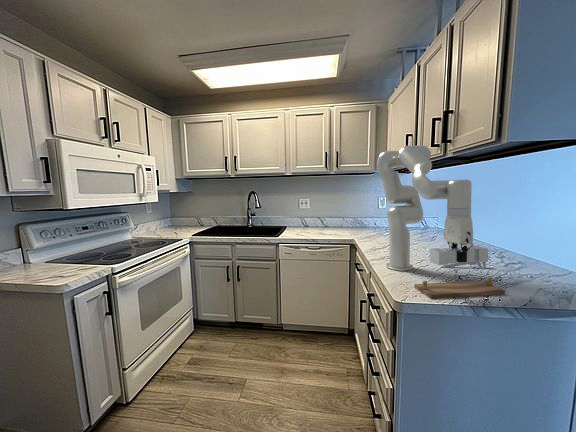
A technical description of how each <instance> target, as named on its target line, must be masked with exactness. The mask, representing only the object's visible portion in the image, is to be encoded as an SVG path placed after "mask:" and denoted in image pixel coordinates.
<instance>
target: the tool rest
mask: <svg viewBox="0 0 576 432" xmlns="http://www.w3.org/2000/svg"><path fill="white" fill-rule="evenodd" d="M413 286H414V289H416V290H417V291H419V292H420V293H421V294H423V295H425V296H426V297H428V298H429V299H434V300H435V299H448V298H450V299H451V298H465V297H478V296H479V297H481V296H496V295H505V294H506V293H505V290H504V289H502V288H500V287H497V286H496V285H493V277H492V276H487V278H486V281H483V280H465V281H464V280H461V281H446V282H445V281H444V282H431V283H430V282H429V283H428V281H427V280H422V282H421V283H414V285H413Z"/></svg>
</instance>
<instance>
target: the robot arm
mask: <svg viewBox="0 0 576 432" xmlns="http://www.w3.org/2000/svg"><path fill="white" fill-rule="evenodd" d="M431 157H432V152H431V149H430V148H429V147H427V146H425V145H412V144H411V145H406V146H403V147H401V149H399V150H386V151H383V152H381V153H380V154H379V156H378V157H377V161H376V169H377V172H378V174H379V177H380V179H381V182H382V186H383V190H384V195H385V198H386V201H387V203H388V204H389V205H390V204H391V205H395V206H391V207H390V208H388V211H387V213H386V218H387V222H388V231H389V235H388V236H389V237H388V239H389V240H388V241H389V243H388V245H389V248H388V249H389V251H388V253H389V254H388V255H389V256H388V259H389V262H387V263H386V265H385V267H386V268H387V269H389V270H393V271H397V272H398V271H400V272H403V271H405V272H406V271H411V270H414V266H413V264H411V255H410V254H411V252H410V249H411V247H410V245H411V243H410V242H411V237H410V236H411V234H410V230H409V228H408V227H407V225H414V224H420V223H421V222H422V221H423V219H424V210H423V206H422V203H421V199H420V197H422V198H423V199H426V200H431V201H433V200H447V201H446V202H447V203H446V204H447V205H446V208H447V210H446V212H447V213H446V215H445V221H444V226H443V227H444V228H443V229H444V230H443V239H444V240H445V242H447V245H448V248H459V252H458V262H467V252H468V250H469V249H470V248H471V247H473V246H475V245H474V243H473V242H474V241H473V240H474V225H473V219H472V185H473V184H472V181H471V180H470V179H465V178H464V179H452V180H449V179H448V180H447V179H446V180H445V179H443V180H441V179H440V180H431V179H430V178H428V176H427V175H428V174H429V173H430V171H431V170H432V167H433V164H432V162H431V160H430V159H431ZM394 168H396V169H398V168H406V169H407V170H408V171H409V172H410V173H411V174H412V177H411V182H412V185H406V184H405V185H404V184H403V185H402V182H401V178H400V176H399V174H398V173H397V171H395V170H394Z"/></svg>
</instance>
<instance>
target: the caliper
mask: <svg viewBox="0 0 576 432" xmlns="http://www.w3.org/2000/svg"><path fill="white" fill-rule="evenodd" d="M486 263H487V262H465V263H451V264H448V265H440V268H442V269H446V268H455V267H460V266H464V265H465V266H466V265H470V266H473V265H474V266H475V265H476V264H477V266H478V268H480V269H481V268H482V267H483V268H484V269H485V268H486V267H487V266H486V265H487V264H486Z"/></svg>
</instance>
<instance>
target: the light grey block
mask: <svg viewBox="0 0 576 432" xmlns="http://www.w3.org/2000/svg"><path fill="white" fill-rule="evenodd" d="M458 252H459V247H458V248H449V247H446V248H439V247H435V248H430V249H429V262H431V263H432V264H435V265H438V266H443V265H448V264H452V263H465V262H458ZM467 262H480V263H482V262H486V263H487V262H488V263H489V248H487V247H483V246H479V245H474V246H473V247H471V248H470V249H469V250H468V252H467Z"/></svg>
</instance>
